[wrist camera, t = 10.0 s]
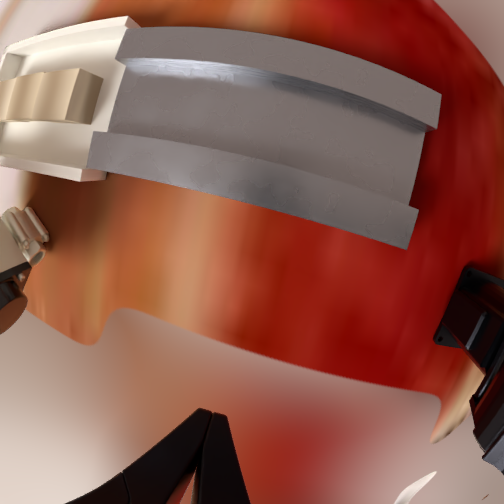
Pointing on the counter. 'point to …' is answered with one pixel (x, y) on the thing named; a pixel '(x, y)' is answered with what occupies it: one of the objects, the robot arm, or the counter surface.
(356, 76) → the slot rail
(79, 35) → the tray
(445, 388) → the counter surface
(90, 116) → the block
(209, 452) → the robot arm
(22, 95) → the block
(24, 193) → the counter surface
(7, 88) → the block
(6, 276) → the pneumatic valve
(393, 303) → the counter surface
